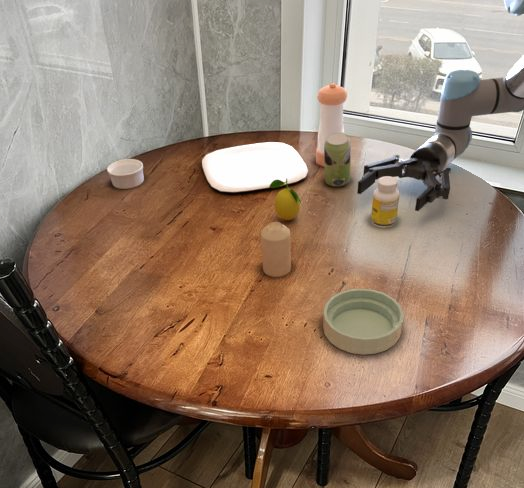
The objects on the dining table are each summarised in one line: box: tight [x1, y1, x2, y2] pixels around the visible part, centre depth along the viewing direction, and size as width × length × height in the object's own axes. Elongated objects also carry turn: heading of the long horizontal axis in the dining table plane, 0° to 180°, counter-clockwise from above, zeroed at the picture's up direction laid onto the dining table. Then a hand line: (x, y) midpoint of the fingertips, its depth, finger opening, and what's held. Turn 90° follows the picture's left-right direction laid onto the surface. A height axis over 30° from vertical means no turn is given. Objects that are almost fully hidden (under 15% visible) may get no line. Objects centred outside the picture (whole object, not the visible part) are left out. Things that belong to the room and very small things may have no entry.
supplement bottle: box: [370, 176, 401, 229], centre depth 114 cm, size 5×5×10 cm
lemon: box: [268, 178, 302, 221], centre depth 116 cm, size 7×6×10 cm
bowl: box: [322, 288, 405, 355], centre depth 91 cm, size 13×13×4 cm
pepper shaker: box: [315, 82, 348, 168], centre depth 133 cm, size 7×7×19 cm
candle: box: [260, 221, 292, 278], centre depth 103 cm, size 6×6×10 cm
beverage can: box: [324, 132, 352, 188], centre depth 126 cm, size 6×7×12 cm
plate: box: [201, 141, 309, 194], centre depth 138 cm, size 25×25×2 cm
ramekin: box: [106, 158, 145, 190], centre depth 135 cm, size 9×9×4 cm
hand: (387, 196), depth 113 cm, fingers open, 13 cm apart
